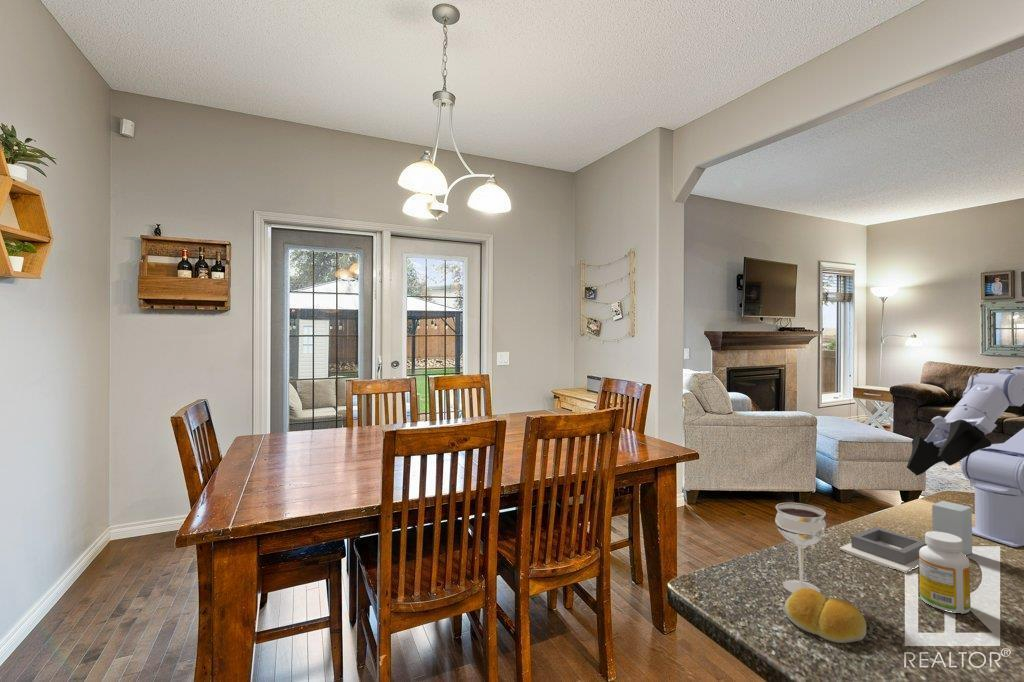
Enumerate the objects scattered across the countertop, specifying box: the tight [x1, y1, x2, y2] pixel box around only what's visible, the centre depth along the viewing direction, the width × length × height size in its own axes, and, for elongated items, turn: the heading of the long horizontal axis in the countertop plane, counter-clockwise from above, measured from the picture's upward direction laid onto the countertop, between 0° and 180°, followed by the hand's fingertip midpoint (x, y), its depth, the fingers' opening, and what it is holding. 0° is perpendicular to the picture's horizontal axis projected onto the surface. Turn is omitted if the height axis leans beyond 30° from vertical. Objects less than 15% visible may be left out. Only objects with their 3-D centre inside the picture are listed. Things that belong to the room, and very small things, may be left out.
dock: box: [838, 526, 927, 574], centre depth 85 cm, size 12×10×2 cm
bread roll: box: [783, 588, 867, 644], centre depth 65 cm, size 8×9×4 cm
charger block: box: [931, 500, 973, 556], centre depth 85 cm, size 4×4×8 cm
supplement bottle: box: [919, 530, 972, 615], centre depth 69 cm, size 5×5×10 cm
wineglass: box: [774, 502, 827, 594], centre depth 74 cm, size 7×7×12 cm
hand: (928, 465), depth 84 cm, fingers open, 7 cm apart
